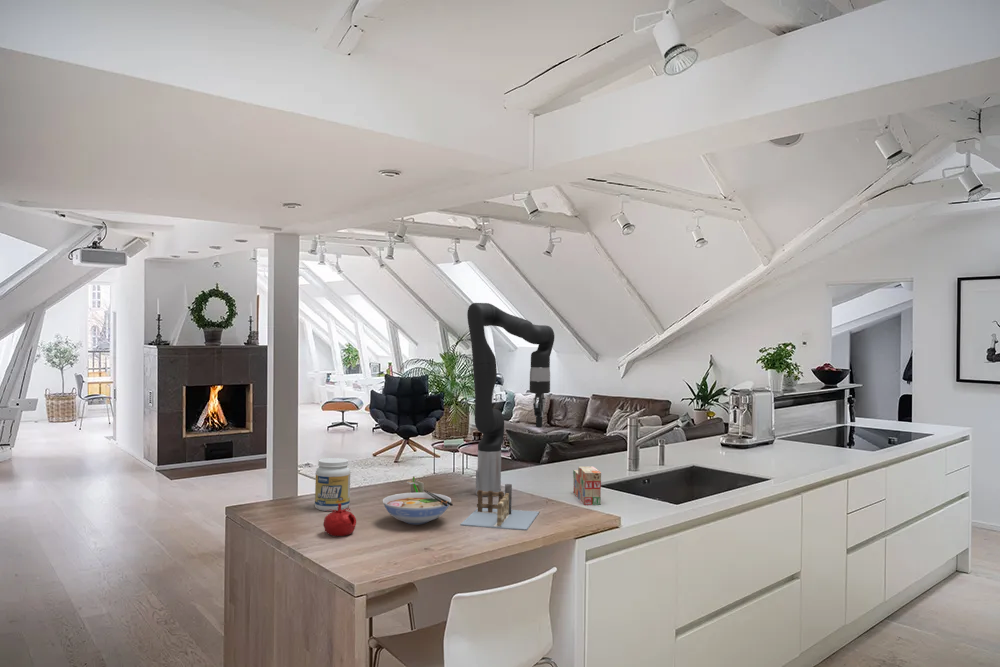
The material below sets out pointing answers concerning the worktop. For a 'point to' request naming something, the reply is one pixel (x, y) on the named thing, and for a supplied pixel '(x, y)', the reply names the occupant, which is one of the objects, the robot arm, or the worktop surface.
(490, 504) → the fixed fence
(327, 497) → the supplement tub
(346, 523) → the pomegranate
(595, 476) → the stack of blocks
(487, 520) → the card
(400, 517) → the ramen bowl
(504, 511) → the hinged fence panel
